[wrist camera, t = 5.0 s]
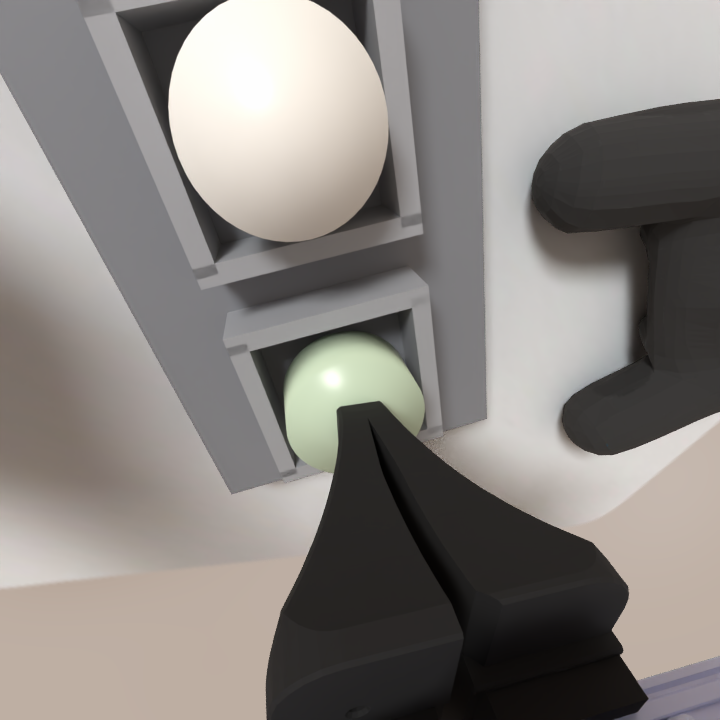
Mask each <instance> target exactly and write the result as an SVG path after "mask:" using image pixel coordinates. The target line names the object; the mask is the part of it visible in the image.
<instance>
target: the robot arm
mask: <svg viewBox="0 0 720 720" xmlns="http://www.w3.org/2000/svg"><path fill="white" fill-rule="evenodd" d="M336 413H337V430H338V451H337V459H336V464H335V469H334V475H333V480H332V484H331V488H330V492H329V496H328V499H327V503H326V506H325V509H324V512H323V515H322V518H321V521H320V524H319V527H318V530H317V533H316V536H315V538H314V541H313V543H312V546H311V548H310V550H309V553H308V555H307V557H306V560H305V562H304V565H303V567H302V570H301V572H300V574H299V576H298V578H297V580H296V582H295V584H294V586H293V588H292V590H291V592H290V594H289V596H288V598H287V600H286V602H285V604H284V606H283V608H282V610H281V613H280V617H279V621H278V625H277V628H276V632H275V636H274V640H273V644H272V648H271V652H270V657H269V663H268V669H267V676H266V711H267V720H720V656H718V657H715V658H712V659H708V660H705V661H701V662H698V663H695V664H691V665H688V666H684V667H681V668H678V669H674V670H671V671H668V672H664V673H662V674H658V675H654V676H651V677H648V678H644V679H641V680H638V681H637V680H636V679H635V678H634V676H633V675H632V673H631V671H630V670H629V669H628V667H627V666H626V664H625V663H624V661H623V660H622V658H621V657H620V654H622V653H623V648H622V645H621V643H620V642H619V641H618V639H617V638H616V636H615V635H614V633H613V632H612V628H613V627H614V625H615V623H616V621H617V620H618V618H619V616H620V615H621V613H622V611H623V610H624V608H625V606H626V603H627V601H628V596H629V592H628V586H627V584H626V583H625V582H624V581H623V579H622V578H621V577H620V576H619V574H618V573H617V572H616V570H615V569H614V567H613V566H612V565H611V564H610V562H609V561H608V560H607V558H606V557H605V556H604V555H603V554H602V553H601V552H600V551H599V550H598V548H597V547H596V546H595V545H594V544H593V543H592V542H590V541H588V540H585V539H583V538H580V537H578V536H576V535H573V534H571V533H569V532H566V531H564V530H561V529H559V528H557V527H554V526H552V525H550V524H547V523H545V522H543V521H541V520H539V519H537V518H535V517H533V516H531V515H529V514H527V513H525V512H523V511H521V510H519V509H517V508H515V507H513V506H511V505H510V504H508V503H506V502H504V501H503V500H501V499H499V498H497V497H496V496H494V495H492V494H491V493H489V492H487V491H485V490H484V489H482V488H481V487H479V486H477V485H476V484H474V483H473V482H471V481H470V480H468V479H467V478H466V477H464V476H463V475H461V474H460V473H458V472H457V471H456V470H454V469H453V468H452V467H450V466H449V465H448V464H447V463H445V462H444V461H443V460H442V459H440V458H439V457H438V456H437V455H435V454H434V453H433V452H432V451H431V450H430V449H428V448H427V447H426V446H425V445H424V444H423V443H422V442H421V441H420V440H419V439H417V438H416V437H415V436H414V435H413V434H412V433H411V432H410V431H409V430H408V429H407V428H406V427H405V426H404V425H403V424H402V423H401V422H400V421H399V420H398V419H397V418H396V417H395V416H394V415H393V414H392V413H391V412H390V411H389V410H388V408H387V407H386V406H385V405H384V404H383V403H382V402H380V401H375V402H368V403H361V404H354V405H347V406H340V407H339V408H338V409H337V410H336Z"/></svg>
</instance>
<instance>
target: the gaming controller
mask: <svg viewBox="0 0 720 720" xmlns="http://www.w3.org/2000/svg"><path fill="white" fill-rule="evenodd" d="M532 199H533V201H534V204H535V206H536V208H537V210H538V211H539V212H540V213H541V215H542V216H543V217H544V218H545V219H546V220H547V221H548V222H549V223H551V224H552V225H553V226H554V227H555V228H557V229H559V230H561V231H564V232H566V233H577V232H592V231H602V230H610V229H618V228H626V227H633V226H640V225H641V228H640V236H641V238H642V240H643V242H644V244H645V246H646V251H647V255H648V260H649V271H648V295H647V315H646V316H645V317H644V318H643V319H642V320H641V322H640V324H639V335H640V337H641V340H642V343H643V345H644V348H645V350H646V352H647V353H648V355H647V356H645V357H643V358H642V359H640V360H638V361H637V362H635V363H633V364H631V365H629V366H627V367H625V368H623V369H621V370H619V371H617V372H614V373H612V374H610V375H608V376H606V377H604V378H602V379H600V380H598V381H596V382H594V383H592V384H590V385H589V386H587V387H585V388H584V389H582V390H581V391H579V392H577V393H576V394H574V395H573V396H572V397H571V399H570V400H569V401H568V402H567V403H566V404H565V407H564V413H563V418H562V422H563V426H564V430H565V432H566V433H567V435H568V437H569V438H570V439H571V441H572V442H573V443H574V444H576V445H577V446H579V447H580V448H582V449H583V450H585V451H588V452H591V453H594V454H597V455H614V454H618V453H621V452H624V451H627V450H630V449H633V448H636V447H639V446H641V445H643V444H646V443H648V442H651V441H653V440H655V439H658V438H660V437H662V436H665V435H667V434H669V433H671V432H673V431H676V430H678V429H680V428H682V427H685V426H687V425H689V424H691V423H693V422H696V421H698V420H700V419H703V418H705V417H708V416H710V415H712V414H715V413H718V412H720V99H715V100H707V101H698V102H688V103H682V104H676V105H669V106H663V107H657V108H652V109H647V110H643V111H638V112H633V113H628V114H623V115H619V116H614V117H610V118H606V119H601V120H597V121H593V122H588V123H584V124H582V125H580V126H578V127H576V128H574V129H572V130H570V131H568V132H566V133H564V134H563V135H562V136H561V137H560V138H558V139H557V140H556V141H555V142H554V143H553V144H552V145H551V146H550V147H549V148H548V150H547V151H546V152H545V153H544V155H543V156H542V157H541V158H540V160H539V162H538V164H537V167H536V169H535V172H534V175H533V180H532Z"/></svg>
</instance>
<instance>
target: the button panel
mask: <svg viewBox="0 0 720 720" xmlns="http://www.w3.org/2000/svg"><path fill="white" fill-rule="evenodd" d="M226 1H228V0H0V74H1V75H2V77H3V79H4V81H5V83H6V84H7V86H8V88H9V90H10V92H11V94H12V95H13V97H14V99H15V101H16V103H17V104H18V106H19V108H20V110H21V112H22V114H23V115H24V117H25V119H26V121H27V123H28V124H29V126H30V128H31V130H32V132H33V134H34V135H35V137H36V139H37V141H38V143H39V145H40V146H41V148H42V150H43V152H44V154H45V155H46V157H47V159H48V161H49V163H50V165H51V166H52V168H53V170H54V172H55V174H56V175H57V177H58V179H59V181H60V183H61V185H62V186H63V188H64V190H65V192H66V194H67V195H68V197H69V199H70V201H71V203H72V205H73V206H74V208H75V210H76V212H77V214H78V216H79V217H80V219H81V221H82V223H83V225H84V226H85V228H86V230H87V232H88V234H89V236H90V237H91V239H92V241H93V243H94V245H95V246H96V248H97V250H98V252H99V254H100V256H101V257H102V259H103V261H104V263H105V265H106V266H107V268H108V270H109V272H110V274H111V276H112V277H113V279H114V281H115V283H116V285H117V287H118V288H119V290H120V292H121V294H122V296H123V297H124V299H125V301H126V303H127V305H128V307H129V308H130V310H131V312H132V314H133V316H134V317H135V319H136V321H137V323H138V325H139V327H140V328H141V330H142V332H143V334H144V336H145V337H146V339H147V341H148V343H149V345H150V347H151V348H152V350H153V352H154V354H155V356H156V358H157V359H158V361H159V363H160V365H161V367H162V368H163V370H164V372H165V374H166V376H167V378H168V379H169V381H170V383H171V385H172V387H173V388H174V390H175V392H176V394H177V396H178V398H179V399H180V401H181V403H182V405H183V407H184V408H185V410H186V412H187V414H188V416H189V418H190V419H191V421H192V423H193V425H194V427H195V429H196V430H197V432H198V434H199V436H200V438H201V439H202V441H203V443H204V445H205V447H206V449H207V450H208V452H209V454H210V456H211V458H212V459H213V461H214V463H215V465H216V467H217V469H218V470H219V472H220V474H221V476H222V478H223V479H224V481H225V483H226V485H227V487H228V489H229V490H230V492H231V494H235V493H238V492H241V491H245V490H248V489H252V488H255V487H258V486H262V485H265V484H268V483H272V482H275V481H279V480H282V479H283V481H284V483H287V482H291V481H294V480H297V479H301V478H304V477H308V476H311V475H314V474H318V473H321V472H324V471H321V470H319V469H316V468H314V467H312V466H310V465H308V464H307V463H305V462H304V461H303V460H301V459H300V458H299V457H298V456H297V455H296V453H295V452H294V451H293V449H292V447H291V445H290V443H289V440H288V437H287V431H286V420H285V408H284V396H283V383H284V378H285V375H286V372H287V369H288V368H289V366H290V364H291V362H292V361H293V359H294V358H295V357H296V356H297V355H298V353H299V352H300V351H301V350H302V349H304V348H305V347H306V346H307V345H309V344H310V343H312V342H314V341H315V340H317V339H319V338H321V337H323V336H326V335H329V334H332V333H337V332H342V331H361V332H367V333H371V334H374V335H376V336H379V337H381V338H383V339H384V340H386V341H387V342H389V343H390V344H391V345H392V346H393V347H394V348H395V349H396V350H397V351H398V353H399V355H400V356H401V358H402V359H403V361H404V363H405V365H406V366H407V368H408V370H409V371H410V373H411V375H412V376H413V378H414V380H415V381H416V383H417V385H418V386H419V388H420V390H421V392H422V395H423V398H424V403H425V413H424V419H423V423H422V426H421V428H420V431H419V432H418V434H417V436H416V438H417V439H419V440H420V441H421V442H425V441H429V440H432V439H435V438H439V437H442V436H443V432H444V431H447V430H450V429H454V428H457V427H461V426H464V425H467V424H471V423H474V422H477V421H481V420H484V419H487V408H486V356H485V304H484V251H483V199H482V147H481V95H480V43H479V0H309V1H312V2H314V3H316V4H318V5H319V6H321V7H323V8H324V9H326V10H328V11H329V12H330V13H332V14H333V15H334V16H335V17H337V18H338V19H339V20H340V21H342V22H343V23H344V24H345V25H346V26H347V27H348V28H349V29H350V31H351V32H352V33H353V34H354V35H355V36H356V37H357V39H358V40H359V41H360V43H361V44H362V46H363V47H364V48H365V50H366V52H367V53H368V55H369V57H370V59H371V60H372V62H373V64H374V66H375V69H376V71H377V73H378V76H379V78H380V81H381V85H382V88H383V91H384V95H385V100H386V105H387V111H388V125H389V129H388V145H387V152H386V158H385V161H384V165H383V169H382V172H381V174H380V177H379V179H378V182H377V184H376V186H375V188H374V190H373V192H372V193H371V195H370V197H369V198H368V200H367V201H366V202H365V204H364V205H363V206H362V208H361V209H360V210H359V211H358V212H357V213H356V214H355V215H354V216H353V217H352V218H351V219H350V220H348V221H347V222H346V223H345V224H343V225H342V226H340V227H339V228H337V229H336V230H334V231H332V232H330V233H328V234H326V235H323V236H320V237H317V238H314V239H310V240H305V241H298V242H281V241H273V240H268V239H263V238H260V237H257V236H254V235H251V234H249V233H247V232H245V231H243V230H241V229H239V228H237V227H235V226H234V225H232V224H231V223H229V222H227V221H226V220H225V219H223V218H222V217H221V216H220V215H219V214H217V213H216V212H215V211H214V210H213V209H212V208H211V207H210V206H209V205H208V204H207V203H206V202H205V201H204V200H203V199H202V197H201V196H200V195H199V193H198V192H197V191H196V189H195V188H194V187H193V185H192V183H191V182H190V180H189V178H188V177H187V175H186V173H185V171H184V169H183V167H182V165H181V162H180V160H179V158H178V155H177V152H176V149H175V146H174V143H173V138H172V133H171V128H170V122H169V109H168V104H169V88H170V82H171V76H172V71H173V68H174V65H175V62H176V59H177V56H178V54H179V52H180V50H181V48H182V46H183V43H184V41H185V40H186V38H187V37H188V35H189V34H190V33H191V31H192V30H193V28H194V27H195V26H196V25H197V24H198V23H199V22H200V20H201V19H202V18H203V17H204V16H205V15H206V14H208V13H209V12H210V11H212V10H213V9H214V8H216V7H217V6H219V5H220V4H222V3H224V2H226Z"/></svg>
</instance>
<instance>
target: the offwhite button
mask: <svg viewBox="0 0 720 720" xmlns="http://www.w3.org/2000/svg"><path fill="white" fill-rule="evenodd" d="M168 109H169V122H170V128H171V133H172V138H173V143H174V146H175V149H176V152H177V155H178V158H179V160H180V162H181V165H182V167H183V169H184V171H185V173H186V175H187V177H188V178H189V180H190V182H191V183H192V185H193V187H194V188H195V189H196V191H197V192H198V193H199V195H200V196H201V197H202V199H203V200H204V201H205V202H206V203H207V204H208V205H209V206H210V207H211V208H212V209H213V210H214V211H215V212H216V213H217V214H219V215H220V216H221V217H222V218H223V219H225V220H226V221H227V222H229V223H231V224H232V225H234V226H235V227H237V228H239V229H241V230H243V231H245V232H247V233H249V234H251V235H254V236H257V237H260V238H263V239H268V240H273V241H281V242H298V241H305V240H310V239H314V238H317V237H320V236H323V235H326V234H328V233H330V232H332V231H334V230H336V229H337V228H339V227H340V226H342V225H343V224H345V223H346V222H347V221H348V220H350V219H351V218H352V217H353V216H354V215H355V214H356V213H357V212H358V211H359V210H360V209H361V208H362V206H363V205H364V204H365V202H366V201H367V200H368V198H369V197H370V195H371V193H372V192H373V190H374V188H375V186H376V184H377V182H378V179H379V177H380V174H381V172H382V169H383V165H384V161H385V158H386V152H387V145H388V129H389V125H388V111H387V105H386V100H385V95H384V91H383V88H382V85H381V81H380V78H379V76H378V73H377V71H376V69H375V66H374V64H373V62H372V60H371V59H370V57H369V55H368V53H367V52H366V50H365V48H364V47H363V46H362V44H361V43H360V41H359V40H358V39H357V37H356V36H355V35H354V34H353V33H352V32H351V31H350V29H349V28H348V27H347V26H346V25H345V24H344V23H343V22H342V21H340V20H339V19H338V18H337V17H335V16H334V15H333V14H332V13H330V12H329V11H328V10H326V9H324V8H323V7H321V6H319V5H318V4H316V3H314V2H312V1H309V0H228V1H226V2H224V3H222V4H220V5H219V6H217V7H216V8H214V9H213V10H212V11H210V12H209V13H208V14H206V15H205V16H204V17H203V18H202V19H201V20H200V22H199V23H198V24H197V25H196V26H195V27H194V28H193V30H192V31H191V33H190V34H189V35H188V37H187V38H186V40H185V41H184V43H183V46H182V48H181V50H180V52H179V54H178V56H177V59H176V62H175V65H174V68H173V71H172V76H171V82H170V88H169V104H168Z"/></svg>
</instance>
